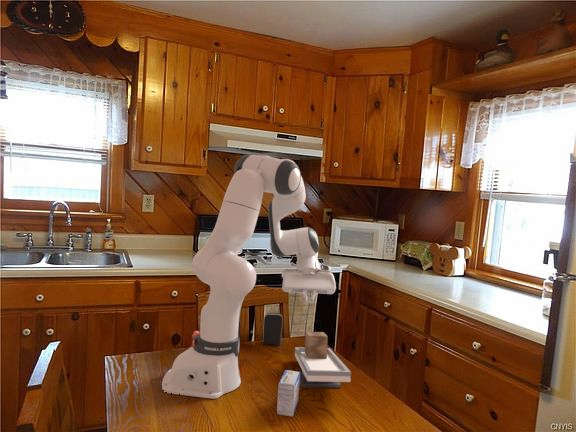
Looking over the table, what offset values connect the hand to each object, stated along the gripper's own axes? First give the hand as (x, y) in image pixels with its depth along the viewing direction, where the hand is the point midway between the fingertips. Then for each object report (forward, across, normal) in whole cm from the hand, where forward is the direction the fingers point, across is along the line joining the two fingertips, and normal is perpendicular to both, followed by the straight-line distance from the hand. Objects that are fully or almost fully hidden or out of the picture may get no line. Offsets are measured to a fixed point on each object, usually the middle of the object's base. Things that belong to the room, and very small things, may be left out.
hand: (309, 302), depth 148 cm
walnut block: (+21, 0, -4) cm, 22 cm away
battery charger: (+10, -13, +14) cm, 21 cm away
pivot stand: (+30, 0, -6) cm, 31 cm away
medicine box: (+41, -11, -17) cm, 45 cm away
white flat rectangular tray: (+27, 0, -9) cm, 28 cm away
